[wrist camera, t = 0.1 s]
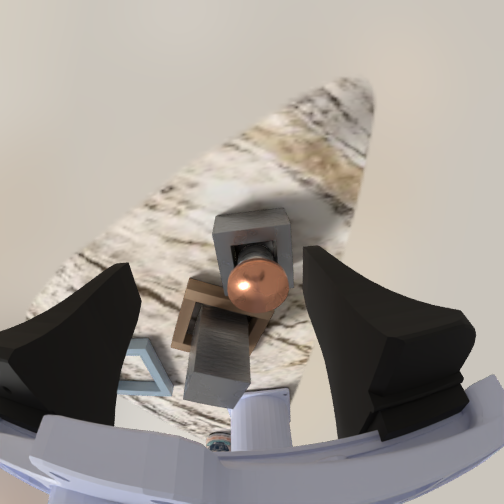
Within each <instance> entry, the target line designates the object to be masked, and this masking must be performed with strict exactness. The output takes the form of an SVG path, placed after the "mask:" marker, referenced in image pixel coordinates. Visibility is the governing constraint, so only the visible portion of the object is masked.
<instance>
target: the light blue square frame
mask: <svg viewBox="0 0 504 504" xmlns="http://www.w3.org/2000/svg"><path fill="white" fill-rule="evenodd" d="M126 356H140V357H141V358H142V360H143V362H144V364H145V365H146V367H147V369H148V371H149V372H150V374H151V376H152V377H153V379H154V381H155V382H143V381H119V384H118V390H117V394H124V395H142V396H172V393H173V387H174V386H173V385H172V383H171V381H170V379H169V377H168V375H167V374H166V372H165V370H164V368H163V366H162V364H161V362H160V360H159V358H158V356H157V354H156V352H155V350H154V348H153V346H152V344H151V342H150V340H149V338H137V339H131V341H130V344H129V347H128V350H127V353H126Z"/></svg>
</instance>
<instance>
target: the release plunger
mask: <svg viewBox="0 0 504 504" xmlns="http://www.w3.org/2000/svg"><path fill="white" fill-rule="evenodd" d="M227 292H228V296H229V298H230V300H231V302H232V303H233V304H234V305H235V306H236V307H238V308H239V309H241V310H243V311H246V312H250V313H264V312H268V311H271V310H273V309H275V308H277V307H278V306H279V305H281V304H282V303H283V302H284V300H285V299H286V297H287V295H288V292H289V282H288V279H287V275H286V273H285V271H284V269H283V268H282V267H281V266H280V265H279V264H278V263H276V262H274V261H273V256H272V253H271V251H270V250H269V249H268V248H267V247H265V246H263V245H261V244H251V245H248V246H246V247H244V248H243V249H242V250H241V251H240V253H239V255H238V265H237V266H236V267H235V268H234V269H233V270H232V271H231V273H230V275H229V278H228V286H227Z"/></svg>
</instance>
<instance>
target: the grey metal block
mask: <svg viewBox="0 0 504 504" xmlns="http://www.w3.org/2000/svg"><path fill="white" fill-rule="evenodd" d="M250 384H251V378H250V357H249V335H248V315H245V314H241V313H237V312H233V311H230V310H226V309H222V308H218V307H214V306H211V305H207V304H203V303H202V305H201V308H200V311H199V314H198V317H197V320H196V323H195V326H194V329H193V335H192V341H191V348H190V354H189V361H188V368H187V375H186V382H185V389H184V396H183V400H188V401H192V402H197V403H202V404H207V405H212V406H217V407H223V408H229V409H234V407H235V406H236V404H237V403H238V402H239V400H240V399H241V397H242V396H243V394H244V393H245V391H246V390H247V388H248V387H249V385H250Z"/></svg>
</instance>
